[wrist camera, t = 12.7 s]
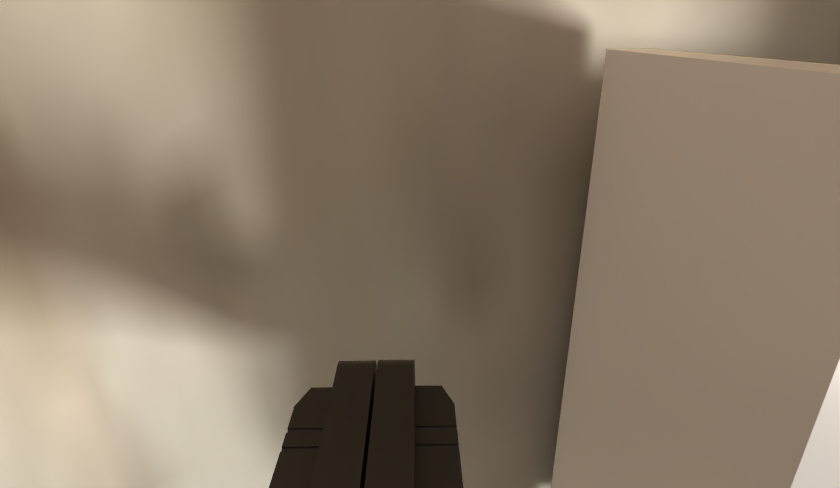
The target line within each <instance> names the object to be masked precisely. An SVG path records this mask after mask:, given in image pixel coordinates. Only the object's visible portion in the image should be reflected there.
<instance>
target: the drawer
mask: <svg viewBox="0 0 840 488" xmlns="http://www.w3.org/2000/svg"><path fill="white" fill-rule="evenodd" d="M551 488H840V65H837V64H826V63H814V62H802V61H791V60H779V59H767V58H756V57H744V56H732V55H720V54H709V53H697V52H685V51H674V50H662V49H607V52H606V59H605V67H604V75H603V83H602V91H601V99H600V107H599V114H598V122H597V130H596V138H595V146H594V154H593V162H592V170H591V177H590V185H589V193H588V201H587V209H586V217H585V225H584V232H583V240H582V248H581V256H580V264H579V272H578V280H577V287H576V295H575V303H574V311H573V319H572V327H571V335H570V342H569V350H568V358H567V366H566V374H565V382H564V390H563V397H562V405H561V413H560V421H559V429H558V437H557V445H556V452H555V460H554V468H553V476H552V484H551Z"/></svg>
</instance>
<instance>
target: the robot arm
mask: <svg viewBox="0 0 840 488" xmlns="http://www.w3.org/2000/svg"><path fill="white" fill-rule="evenodd" d="M269 488H463V482H462V473H461V463H460V454H459V447H458V435H457V425H456V416H455V407H454V403H453V401H452V400H451V398H450V397H449V396H448V394H447V393H446V391H445V390H444V388H443V387H442V386H415V361H414V360H378V366H377V364H376V360H372V361H339V362H338V365H337V370H336V374H335V378H334V383H333V387H328V388H311V389H310V390H309V391H308V392H307V393H306V394H305V395H304V396H303V398H302V399H301V400H300V401H299V402H298V403H297V404H296V405H295V407H294V410H293V413H292V416H291V419H290V423H289V426H288V432H287V433H286V435H285V438H284V442H283V445H282V452H280V454H279V458H278V461H277V464H276V467H275V470H274V473H273V477H272V480H271V483H270V486H269Z"/></svg>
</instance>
